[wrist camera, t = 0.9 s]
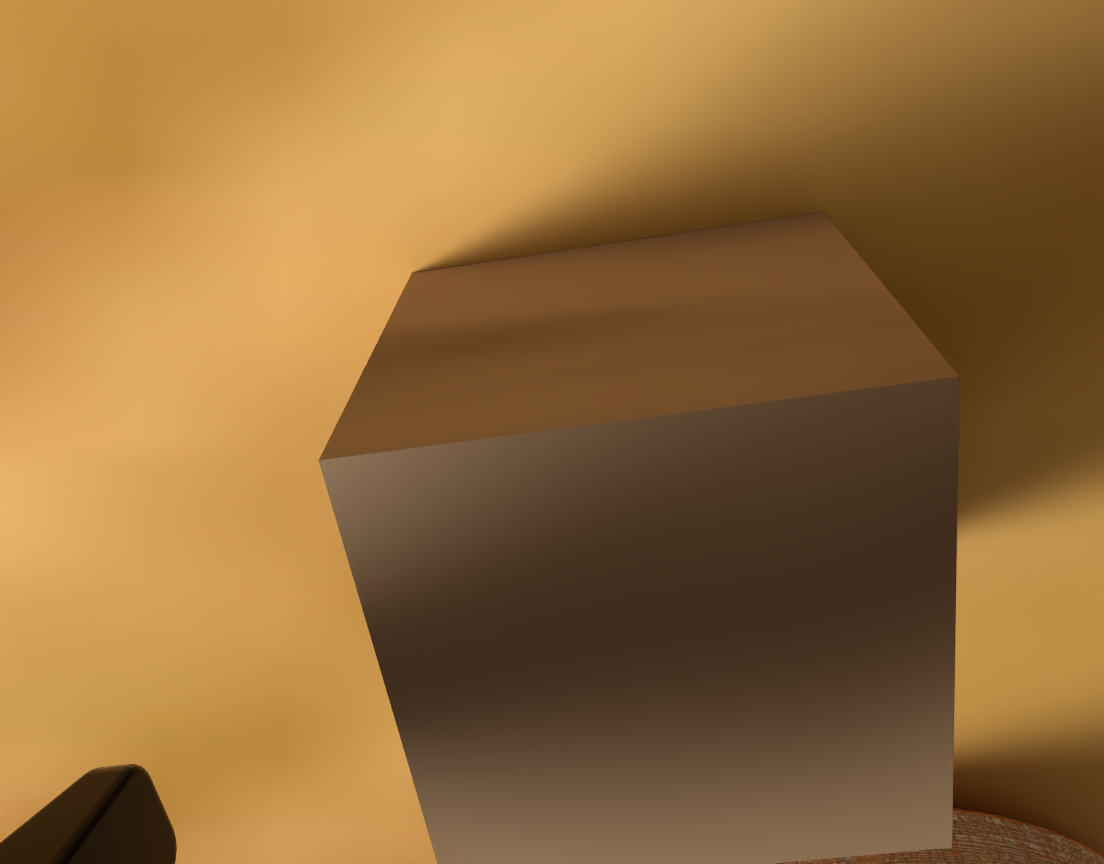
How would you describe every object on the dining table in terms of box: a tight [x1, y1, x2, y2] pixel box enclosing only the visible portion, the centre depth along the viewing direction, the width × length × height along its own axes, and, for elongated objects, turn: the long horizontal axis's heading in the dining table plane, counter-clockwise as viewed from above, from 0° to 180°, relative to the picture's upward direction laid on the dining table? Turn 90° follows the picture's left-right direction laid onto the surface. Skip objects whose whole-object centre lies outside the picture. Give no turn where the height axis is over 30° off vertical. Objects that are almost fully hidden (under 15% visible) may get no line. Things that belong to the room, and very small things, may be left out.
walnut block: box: [319, 212, 959, 864], centre depth 11 cm, size 5×5×5 cm
